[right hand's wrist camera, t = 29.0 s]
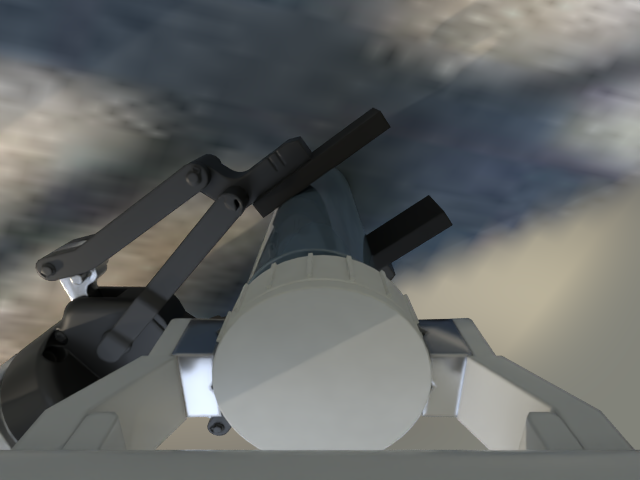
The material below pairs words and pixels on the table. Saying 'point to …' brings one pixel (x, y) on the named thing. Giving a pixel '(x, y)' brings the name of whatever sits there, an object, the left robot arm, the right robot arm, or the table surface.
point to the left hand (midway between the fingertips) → (410, 165)
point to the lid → (321, 358)
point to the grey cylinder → (315, 226)
